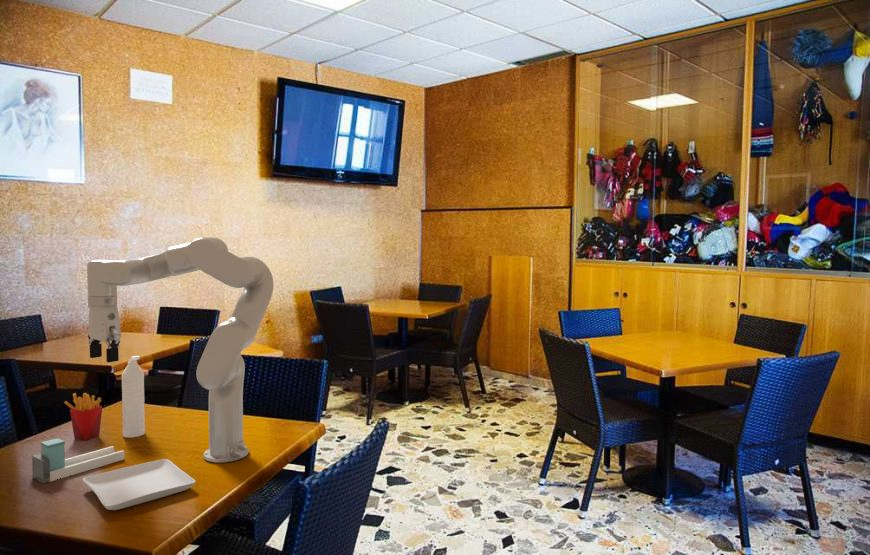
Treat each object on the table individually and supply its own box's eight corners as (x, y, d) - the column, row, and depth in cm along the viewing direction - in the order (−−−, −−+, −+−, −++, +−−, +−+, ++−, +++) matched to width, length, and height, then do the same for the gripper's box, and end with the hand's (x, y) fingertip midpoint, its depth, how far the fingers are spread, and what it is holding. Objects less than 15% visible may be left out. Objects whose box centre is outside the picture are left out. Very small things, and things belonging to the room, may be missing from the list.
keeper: (65, 470, 158) (64, 441, 158) (48, 475, 155) (47, 445, 154) (58, 467, 160) (57, 438, 160) (41, 471, 157) (40, 442, 156)
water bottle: (142, 437, 189) (141, 360, 187) (120, 438, 187) (118, 361, 185) (148, 428, 197) (147, 355, 195) (127, 430, 195) (125, 356, 194)
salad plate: (197, 492, 150) (197, 479, 149) (106, 520, 135) (105, 505, 134) (166, 468, 165) (166, 456, 164) (81, 490, 150) (80, 477, 149)
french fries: (88, 433, 192) (87, 388, 191) (107, 436, 189) (106, 390, 188) (63, 442, 183) (62, 394, 182) (82, 445, 181) (81, 397, 180)
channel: (124, 459, 170) (123, 439, 170) (43, 483, 153) (43, 461, 152) (112, 454, 174) (112, 434, 173) (32, 477, 156) (32, 455, 156)
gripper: (131, 303, 170) (132, 361, 171) (101, 298, 180) (102, 353, 181) (104, 305, 164) (105, 365, 165) (75, 300, 173) (76, 357, 175)
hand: (104, 359), depth 173 cm, fingers open, 9 cm apart
